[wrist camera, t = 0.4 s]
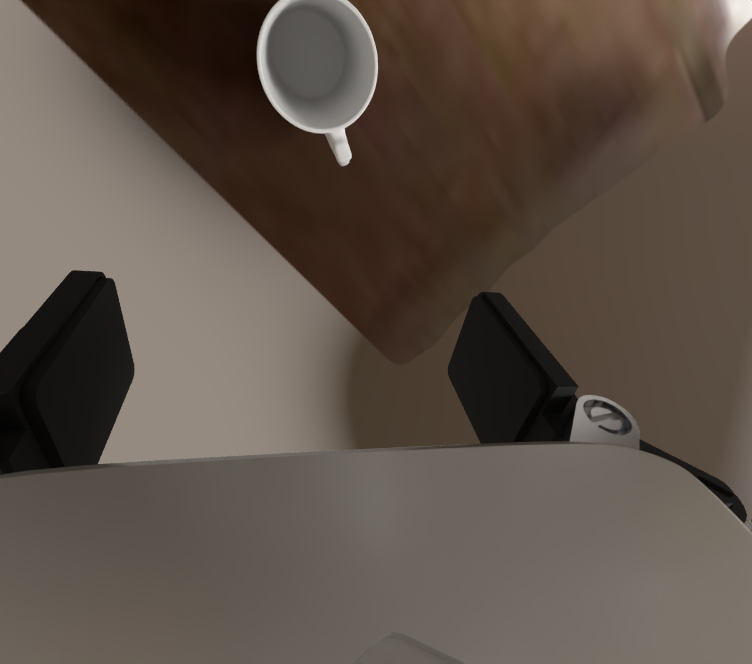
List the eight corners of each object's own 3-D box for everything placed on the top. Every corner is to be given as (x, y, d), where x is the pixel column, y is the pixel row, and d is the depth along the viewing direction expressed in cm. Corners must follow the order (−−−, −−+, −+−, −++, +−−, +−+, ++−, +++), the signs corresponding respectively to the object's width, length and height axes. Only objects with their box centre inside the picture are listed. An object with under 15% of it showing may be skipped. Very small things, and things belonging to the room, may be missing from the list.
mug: (248, 15, 30) (234, 9, 20) (334, -13, 30) (360, -31, 20) (297, 153, 36) (303, 198, 27) (368, 131, 36) (400, 167, 27)
